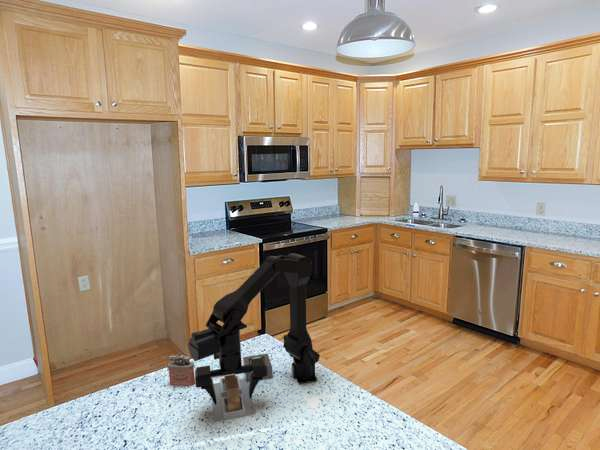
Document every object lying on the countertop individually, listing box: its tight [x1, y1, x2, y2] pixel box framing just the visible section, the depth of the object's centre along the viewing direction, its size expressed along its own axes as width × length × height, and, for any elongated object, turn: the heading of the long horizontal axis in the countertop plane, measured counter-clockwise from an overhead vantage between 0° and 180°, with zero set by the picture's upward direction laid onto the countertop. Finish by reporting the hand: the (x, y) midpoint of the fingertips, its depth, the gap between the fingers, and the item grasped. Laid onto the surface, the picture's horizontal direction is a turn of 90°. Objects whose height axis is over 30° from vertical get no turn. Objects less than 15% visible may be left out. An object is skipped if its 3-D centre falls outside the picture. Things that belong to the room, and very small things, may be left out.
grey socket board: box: [211, 374, 256, 423], centre depth 112 cm, size 11×18×2 cm, turn 14°
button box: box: [242, 353, 273, 383], centre depth 124 cm, size 8×8×5 cm
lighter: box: [167, 354, 196, 387], centre depth 119 cm, size 8×3×10 cm, turn 84°
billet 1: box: [223, 374, 237, 391], centre depth 116 cm, size 3×5×8 cm, turn 15°
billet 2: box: [226, 378, 240, 412], centre depth 107 cm, size 3×5×8 cm, turn 15°
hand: (233, 400), depth 107 cm, fingers open, 9 cm apart
